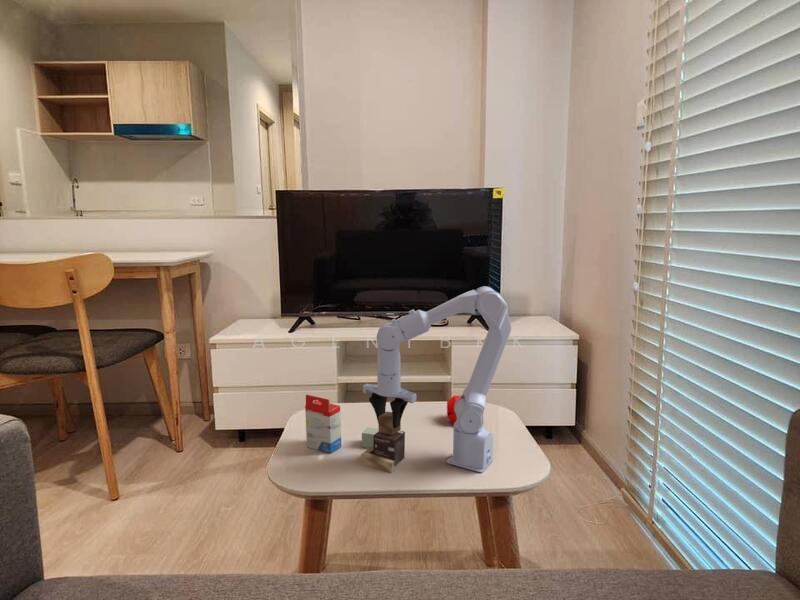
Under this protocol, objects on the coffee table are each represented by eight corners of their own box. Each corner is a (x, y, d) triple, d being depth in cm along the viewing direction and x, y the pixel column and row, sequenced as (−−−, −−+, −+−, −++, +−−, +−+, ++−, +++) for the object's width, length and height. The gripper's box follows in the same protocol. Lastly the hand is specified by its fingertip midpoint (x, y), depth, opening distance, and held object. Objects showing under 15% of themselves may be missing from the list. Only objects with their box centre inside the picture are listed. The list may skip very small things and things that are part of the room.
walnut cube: (400, 429, 120) (400, 414, 119) (392, 435, 117) (392, 419, 116) (387, 426, 122) (387, 411, 122) (378, 431, 119) (378, 416, 118)
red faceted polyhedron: (446, 416, 149) (446, 393, 148) (472, 417, 148) (472, 393, 147) (447, 427, 141) (448, 402, 140) (475, 427, 140) (475, 402, 139)
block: (380, 442, 130) (380, 428, 130) (375, 448, 127) (375, 434, 126) (367, 440, 132) (367, 427, 131) (361, 447, 128) (361, 432, 127)
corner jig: (410, 457, 122) (410, 448, 121) (391, 472, 114) (391, 463, 114) (381, 449, 126) (381, 440, 126) (361, 463, 119) (361, 453, 118)
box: (372, 462, 119) (372, 435, 118) (384, 453, 124) (384, 426, 123) (394, 468, 116) (394, 440, 115) (405, 458, 121) (405, 430, 120)
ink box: (342, 447, 128) (341, 394, 125) (330, 454, 123) (329, 400, 121) (317, 440, 132) (316, 389, 130) (305, 446, 128) (304, 394, 126)
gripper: (422, 372, 117) (422, 425, 119) (373, 364, 124) (374, 413, 126) (408, 380, 111) (407, 435, 113) (357, 370, 118) (358, 422, 120)
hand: (389, 424), depth 119 cm, fingers closed on walnut cube, 4 cm apart
